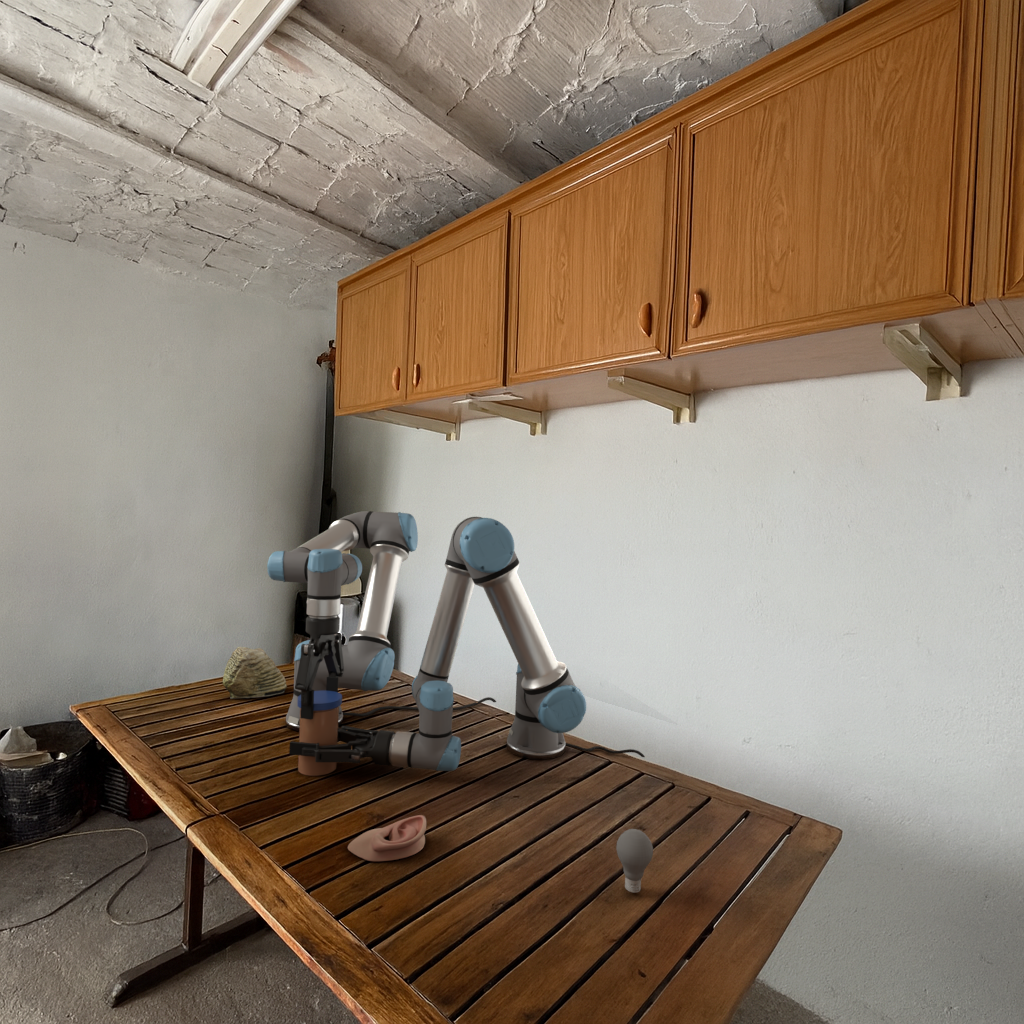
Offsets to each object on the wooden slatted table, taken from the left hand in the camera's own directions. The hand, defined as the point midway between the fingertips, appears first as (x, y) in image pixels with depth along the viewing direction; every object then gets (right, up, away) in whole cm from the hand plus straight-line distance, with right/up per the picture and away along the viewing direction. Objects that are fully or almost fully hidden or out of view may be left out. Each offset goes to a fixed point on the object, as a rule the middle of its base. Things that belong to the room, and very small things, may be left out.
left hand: (319, 710), depth 148 cm
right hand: (-5, -7, +1) cm, 9 cm away
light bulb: (+65, -17, -42) cm, 79 cm away
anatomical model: (+22, -15, -31) cm, 41 cm away
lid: (0, +3, 0) cm, 3 cm away
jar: (-1, -13, 0) cm, 13 cm away
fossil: (-36, -11, +51) cm, 63 cm away
